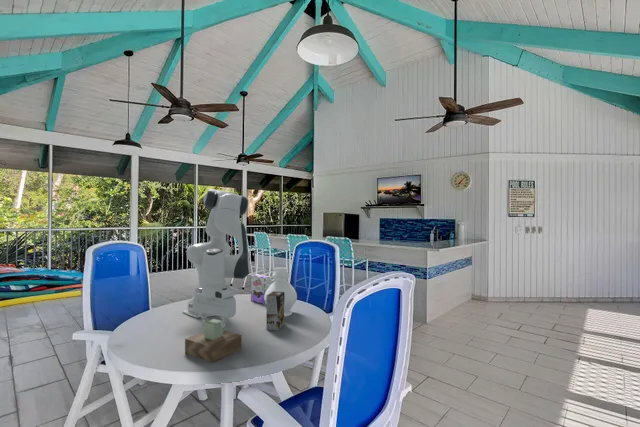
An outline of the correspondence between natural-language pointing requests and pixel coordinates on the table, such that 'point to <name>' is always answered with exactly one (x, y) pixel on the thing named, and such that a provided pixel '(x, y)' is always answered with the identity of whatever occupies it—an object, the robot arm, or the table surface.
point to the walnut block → (212, 346)
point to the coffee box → (275, 311)
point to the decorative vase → (282, 289)
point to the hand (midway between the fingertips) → (213, 325)
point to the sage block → (213, 329)
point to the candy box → (259, 287)
